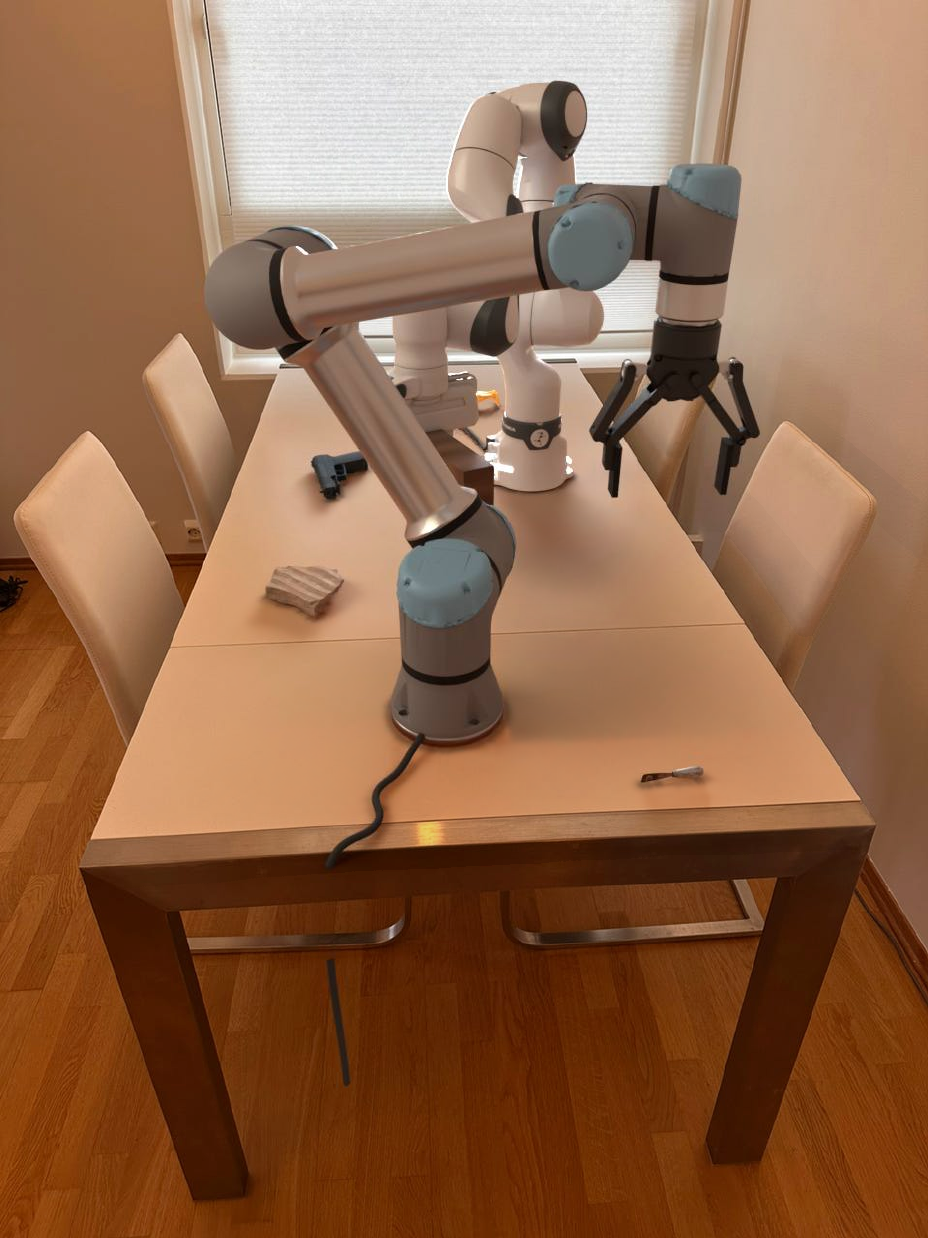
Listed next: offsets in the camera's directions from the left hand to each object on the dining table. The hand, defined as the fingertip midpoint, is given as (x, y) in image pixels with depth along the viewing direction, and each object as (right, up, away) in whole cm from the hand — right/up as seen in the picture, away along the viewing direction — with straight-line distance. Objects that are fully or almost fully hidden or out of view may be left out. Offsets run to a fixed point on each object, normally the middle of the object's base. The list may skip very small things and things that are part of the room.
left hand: (666, 492), depth 112 cm
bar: (-28, +5, +40) cm, 49 cm away
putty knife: (0, -36, -3) cm, 36 cm away
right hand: (-32, +12, +44) cm, 56 cm away
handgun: (-51, +13, +76) cm, 92 cm away
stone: (-52, -12, +35) cm, 64 cm away
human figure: (-29, +37, +114) cm, 123 cm away
